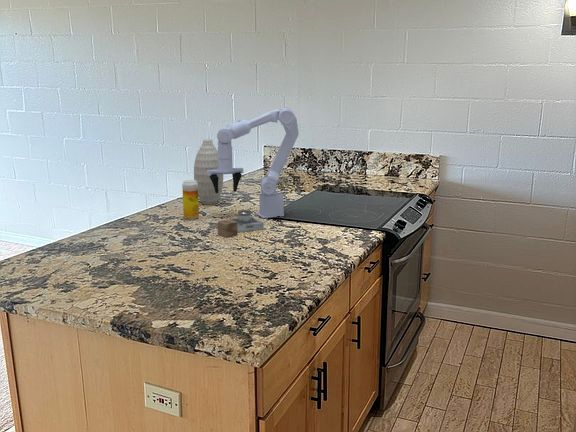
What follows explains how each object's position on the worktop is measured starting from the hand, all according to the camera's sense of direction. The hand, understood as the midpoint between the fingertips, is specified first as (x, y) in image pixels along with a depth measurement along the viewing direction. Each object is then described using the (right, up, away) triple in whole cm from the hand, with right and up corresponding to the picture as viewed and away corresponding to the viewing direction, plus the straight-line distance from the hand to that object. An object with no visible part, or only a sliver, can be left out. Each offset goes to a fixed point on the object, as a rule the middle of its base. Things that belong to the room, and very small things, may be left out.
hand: (225, 192), depth 232 cm
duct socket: (+9, -14, -14) cm, 21 cm away
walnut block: (+3, -17, -24) cm, 29 cm away
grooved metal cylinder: (+9, -14, -14) cm, 21 cm away
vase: (-10, -4, +24) cm, 26 cm away
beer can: (-14, -11, -1) cm, 17 cm away
